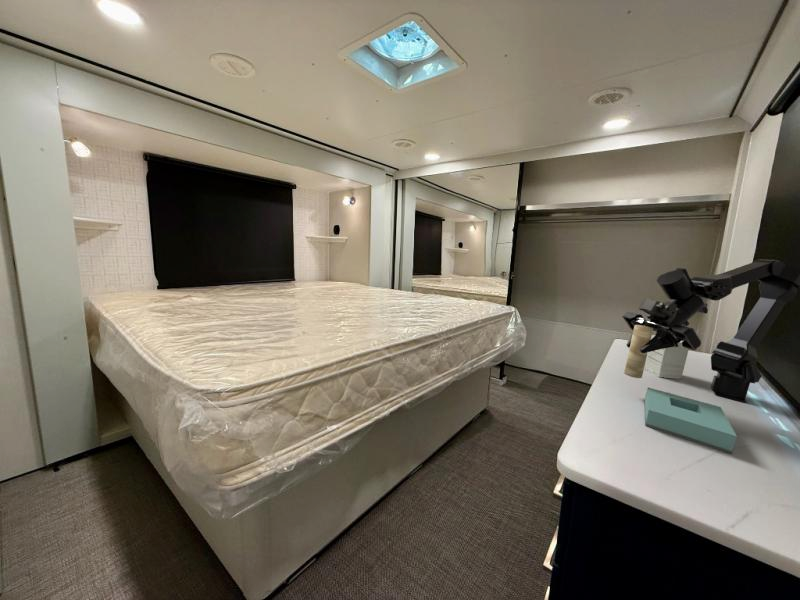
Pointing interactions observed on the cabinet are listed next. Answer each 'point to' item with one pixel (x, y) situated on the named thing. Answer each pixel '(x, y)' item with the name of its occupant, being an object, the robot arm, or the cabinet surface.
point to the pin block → (689, 419)
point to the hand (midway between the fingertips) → (634, 349)
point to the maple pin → (638, 351)
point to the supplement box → (667, 361)
